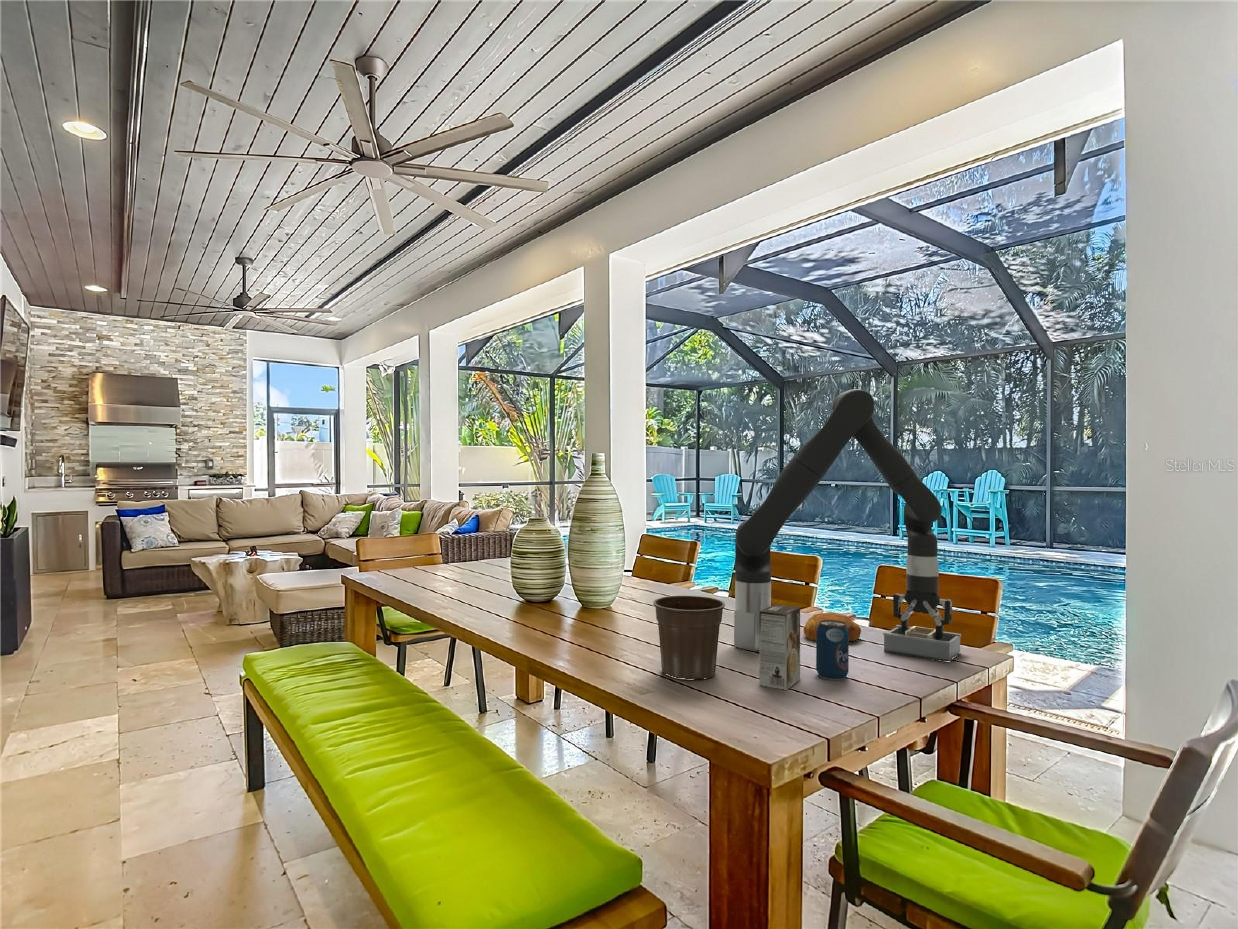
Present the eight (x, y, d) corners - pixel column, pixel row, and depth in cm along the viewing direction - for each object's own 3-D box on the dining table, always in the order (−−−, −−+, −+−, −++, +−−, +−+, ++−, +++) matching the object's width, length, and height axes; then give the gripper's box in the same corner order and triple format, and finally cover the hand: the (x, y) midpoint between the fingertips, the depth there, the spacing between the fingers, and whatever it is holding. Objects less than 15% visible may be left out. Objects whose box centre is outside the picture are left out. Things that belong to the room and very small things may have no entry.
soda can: (845, 683, 147) (845, 627, 147) (812, 678, 150) (813, 624, 150) (851, 674, 153) (851, 621, 153) (819, 670, 156) (820, 618, 156)
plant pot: (716, 688, 142) (716, 611, 143) (643, 679, 148) (644, 605, 148) (730, 667, 158) (731, 598, 158) (664, 660, 163) (664, 593, 163)
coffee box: (772, 675, 152) (773, 603, 152) (800, 680, 149) (801, 607, 149) (758, 685, 144) (758, 610, 144) (787, 691, 141) (788, 614, 141)
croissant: (865, 652, 181) (869, 623, 180) (807, 643, 181) (811, 614, 181) (848, 638, 195) (852, 610, 195) (795, 629, 196) (799, 602, 195)
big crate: (950, 663, 163) (950, 642, 163) (883, 651, 173) (883, 632, 173) (961, 653, 172) (961, 634, 172) (896, 643, 182) (896, 625, 182)
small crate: (930, 655, 167) (930, 635, 168) (904, 651, 171) (904, 631, 171) (938, 649, 174) (938, 629, 174) (913, 645, 177) (913, 626, 177)
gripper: (888, 571, 174) (888, 635, 174) (949, 577, 165) (948, 645, 165) (897, 568, 180) (897, 630, 180) (956, 574, 171) (956, 639, 171)
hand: (922, 637), depth 172 cm, fingers open, 7 cm apart
